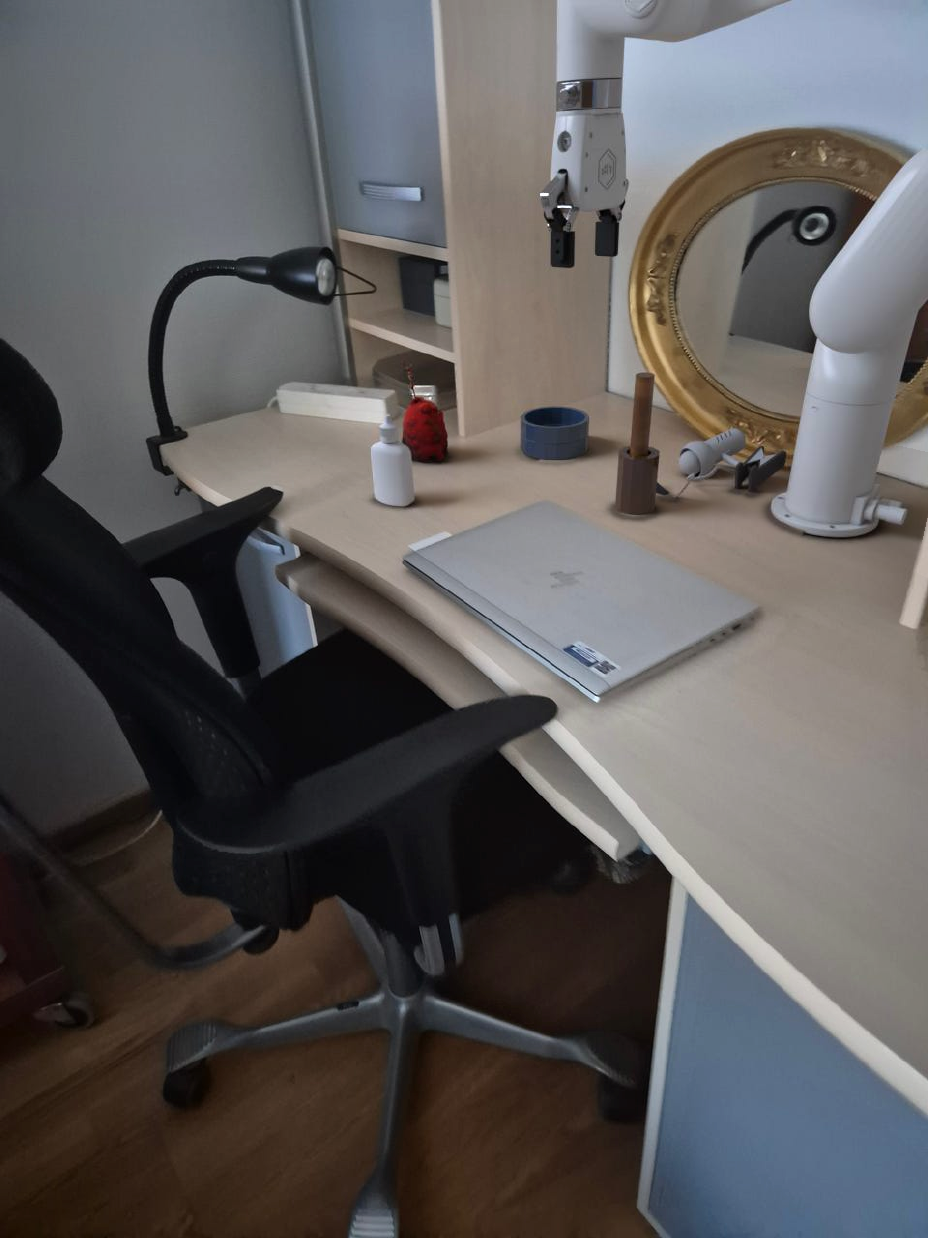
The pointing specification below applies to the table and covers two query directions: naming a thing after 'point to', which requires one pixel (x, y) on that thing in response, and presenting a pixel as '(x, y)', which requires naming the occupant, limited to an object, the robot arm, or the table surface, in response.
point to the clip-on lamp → (727, 460)
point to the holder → (636, 482)
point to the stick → (642, 414)
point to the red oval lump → (424, 428)
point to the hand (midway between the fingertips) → (584, 261)
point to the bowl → (554, 433)
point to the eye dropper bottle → (392, 467)
